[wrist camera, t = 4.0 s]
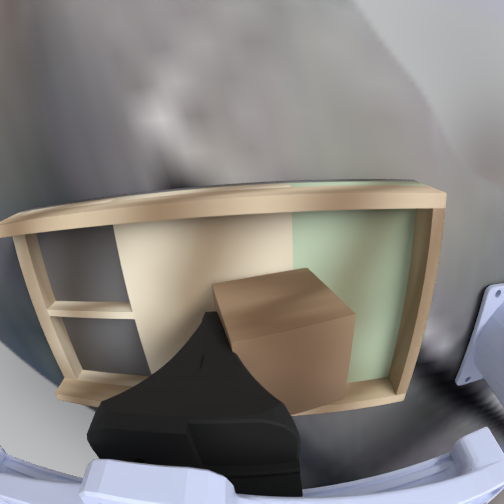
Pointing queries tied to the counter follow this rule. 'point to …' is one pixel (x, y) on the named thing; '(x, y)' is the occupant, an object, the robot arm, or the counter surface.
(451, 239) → the counter surface
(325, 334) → the walnut block
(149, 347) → the tray
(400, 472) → the robot arm
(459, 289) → the counter surface
